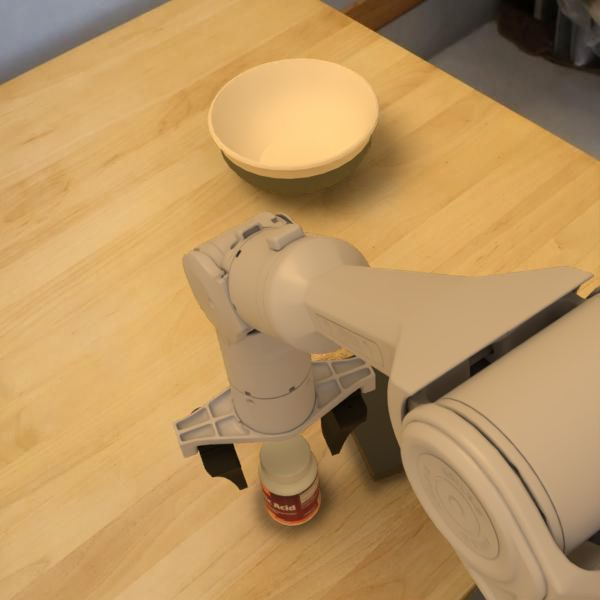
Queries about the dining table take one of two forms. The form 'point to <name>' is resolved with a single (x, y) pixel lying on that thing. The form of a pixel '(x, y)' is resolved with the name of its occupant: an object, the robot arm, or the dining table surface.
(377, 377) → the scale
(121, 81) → the dining table surface
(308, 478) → the pill bottle
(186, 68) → the dining table surface
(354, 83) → the bowl
